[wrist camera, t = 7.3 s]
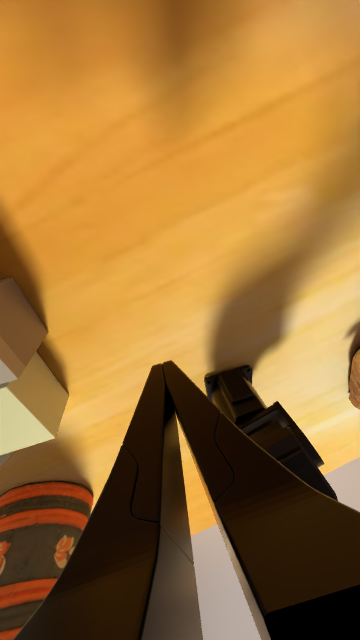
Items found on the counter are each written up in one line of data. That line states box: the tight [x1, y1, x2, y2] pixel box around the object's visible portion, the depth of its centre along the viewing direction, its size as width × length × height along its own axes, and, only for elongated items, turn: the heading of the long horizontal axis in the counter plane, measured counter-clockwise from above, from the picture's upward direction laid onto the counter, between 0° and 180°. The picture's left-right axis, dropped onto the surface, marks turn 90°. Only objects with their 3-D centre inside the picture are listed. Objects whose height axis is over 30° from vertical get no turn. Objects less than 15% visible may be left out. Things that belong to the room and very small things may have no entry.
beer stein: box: [0, 481, 93, 640], centre depth 25 cm, size 19×15×20 cm
